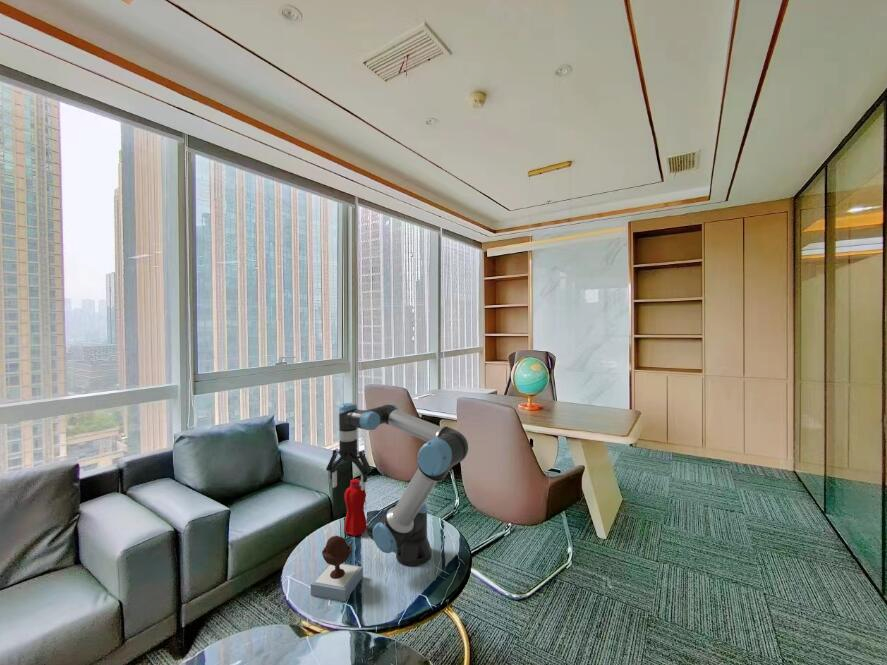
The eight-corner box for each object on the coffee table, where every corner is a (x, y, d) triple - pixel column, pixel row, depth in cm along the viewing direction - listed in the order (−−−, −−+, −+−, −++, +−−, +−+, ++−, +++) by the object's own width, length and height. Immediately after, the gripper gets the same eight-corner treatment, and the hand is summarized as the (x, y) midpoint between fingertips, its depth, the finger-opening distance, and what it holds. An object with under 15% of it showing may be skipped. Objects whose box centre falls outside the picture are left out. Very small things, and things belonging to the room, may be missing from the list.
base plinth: (362, 576, 151) (362, 565, 151) (345, 601, 137) (344, 589, 137) (331, 571, 154) (331, 560, 154) (310, 594, 141) (310, 583, 140)
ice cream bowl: (353, 580, 142) (352, 540, 142) (321, 586, 139) (321, 545, 139) (351, 563, 152) (351, 526, 152) (322, 568, 149) (321, 530, 149)
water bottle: (360, 539, 178) (359, 485, 177) (341, 534, 182) (341, 481, 182) (372, 529, 186) (371, 478, 186) (354, 525, 191) (353, 475, 190)
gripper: (378, 438, 167) (379, 486, 167) (326, 435, 172) (327, 482, 173) (371, 443, 160) (372, 494, 160) (317, 440, 165) (318, 488, 165)
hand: (348, 487), depth 166 cm, fingers open, 13 cm apart
